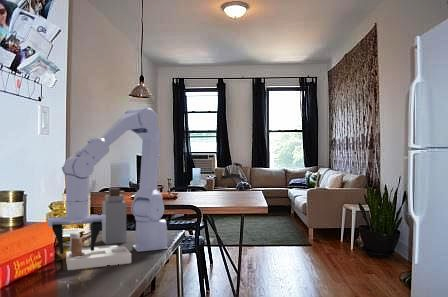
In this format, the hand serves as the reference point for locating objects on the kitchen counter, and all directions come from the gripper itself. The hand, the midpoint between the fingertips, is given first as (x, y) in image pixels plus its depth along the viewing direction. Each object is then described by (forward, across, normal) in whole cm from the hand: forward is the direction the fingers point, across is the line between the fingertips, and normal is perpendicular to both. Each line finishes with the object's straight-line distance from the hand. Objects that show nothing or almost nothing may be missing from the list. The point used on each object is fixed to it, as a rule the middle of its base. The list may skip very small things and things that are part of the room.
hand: (77, 251), depth 103 cm
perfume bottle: (+4, +14, +25) cm, 29 cm away
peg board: (+3, +6, 0) cm, 6 cm away
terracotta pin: (+3, 0, 0) cm, 3 cm away
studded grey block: (+3, +6, +10) cm, 11 cm away
